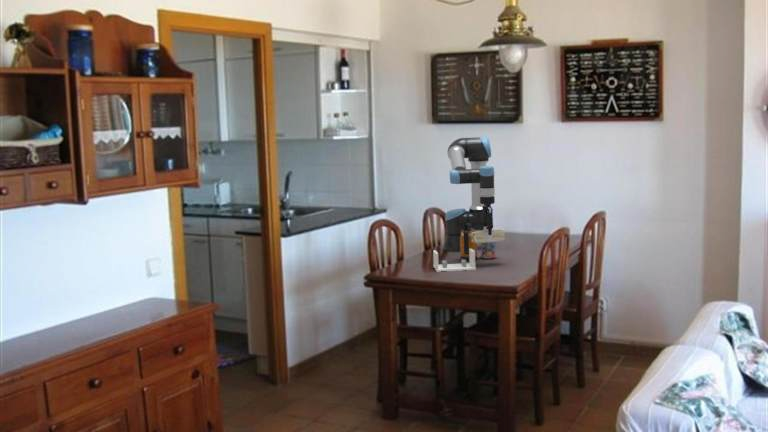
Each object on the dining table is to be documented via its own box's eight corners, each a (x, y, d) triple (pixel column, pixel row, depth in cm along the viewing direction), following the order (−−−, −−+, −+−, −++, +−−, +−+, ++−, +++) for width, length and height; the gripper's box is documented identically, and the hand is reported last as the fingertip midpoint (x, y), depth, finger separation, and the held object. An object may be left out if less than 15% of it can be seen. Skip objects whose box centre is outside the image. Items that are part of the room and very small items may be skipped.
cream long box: (471, 241, 414) (471, 232, 414) (499, 239, 419) (499, 229, 418) (476, 243, 409) (476, 233, 408) (504, 240, 413) (504, 231, 412)
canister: (478, 258, 434) (478, 221, 431) (474, 262, 423) (473, 224, 421) (462, 257, 437) (461, 221, 434) (458, 261, 426) (457, 224, 424)
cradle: (433, 266, 415) (432, 249, 414) (471, 264, 416) (470, 247, 415) (436, 272, 401) (436, 254, 400) (476, 270, 402) (475, 252, 401)
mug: (493, 259, 427) (493, 240, 426) (477, 259, 431) (476, 239, 430) (500, 255, 438) (500, 236, 437) (484, 255, 442) (483, 236, 441)
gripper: (476, 194, 420) (477, 237, 423) (483, 198, 401) (484, 243, 404) (490, 193, 421) (491, 236, 424) (498, 197, 401) (499, 242, 404)
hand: (488, 239), depth 414 cm, fingers closed on cream long box, 7 cm apart
